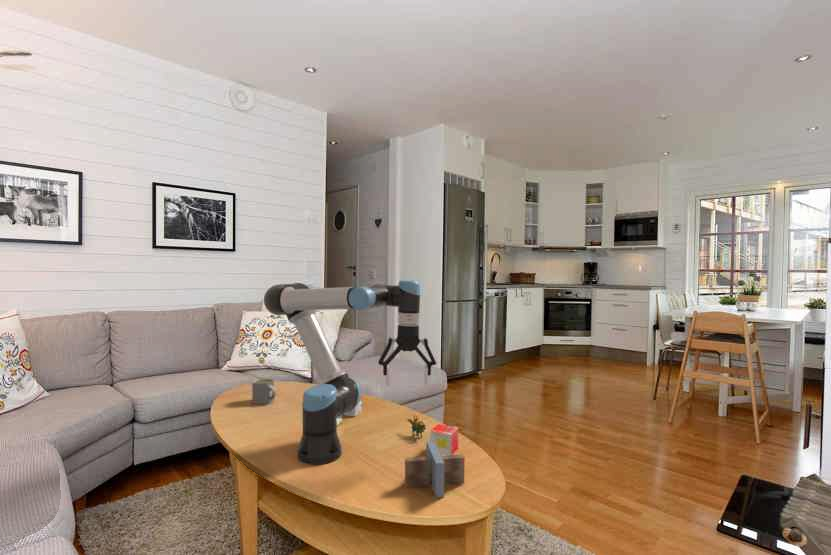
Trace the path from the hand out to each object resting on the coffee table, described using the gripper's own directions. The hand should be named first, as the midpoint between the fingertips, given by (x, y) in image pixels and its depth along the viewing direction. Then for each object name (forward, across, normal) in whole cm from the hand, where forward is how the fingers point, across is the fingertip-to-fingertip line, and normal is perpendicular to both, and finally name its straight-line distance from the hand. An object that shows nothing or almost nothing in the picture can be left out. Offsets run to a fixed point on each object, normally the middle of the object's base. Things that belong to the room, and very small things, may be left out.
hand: (406, 384), depth 154 cm
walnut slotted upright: (+24, +7, -22) cm, 34 cm away
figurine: (+25, +6, +16) cm, 30 cm away
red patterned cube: (+25, +14, +1) cm, 29 cm away
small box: (+26, -21, +44) cm, 55 cm away
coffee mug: (+27, -62, +63) cm, 92 cm away
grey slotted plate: (+24, +7, -22) cm, 34 cm away
